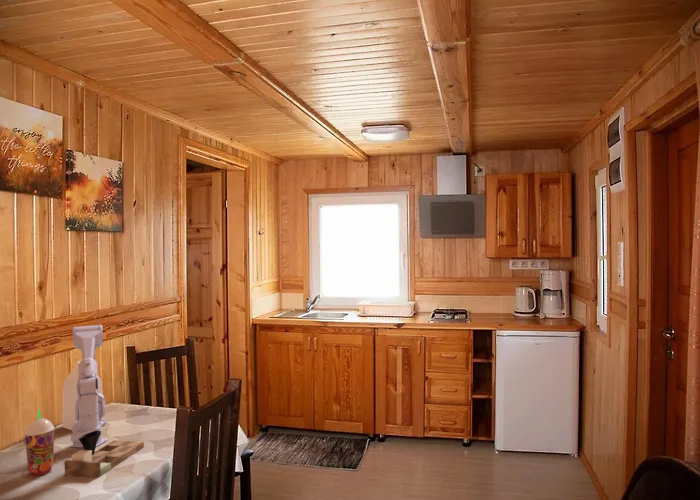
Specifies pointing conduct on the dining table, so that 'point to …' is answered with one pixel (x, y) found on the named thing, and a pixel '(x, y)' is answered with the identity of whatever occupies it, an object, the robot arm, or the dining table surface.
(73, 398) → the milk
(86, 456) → the block
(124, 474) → the dining table surface
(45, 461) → the smoothie
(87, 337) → the robot arm
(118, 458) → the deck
